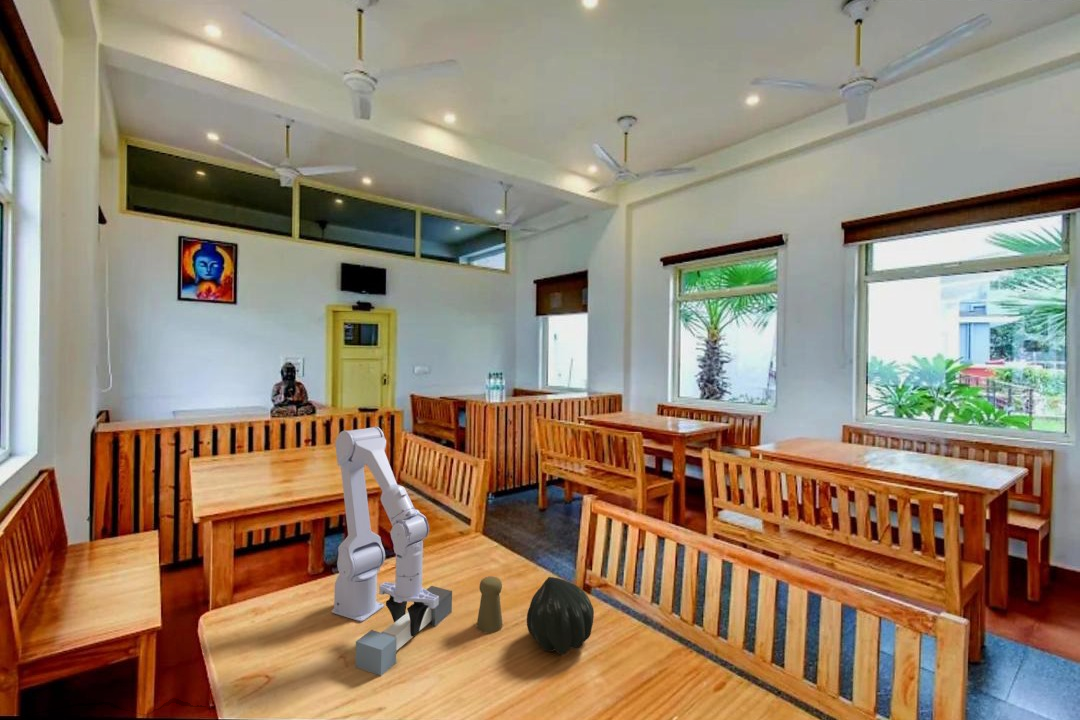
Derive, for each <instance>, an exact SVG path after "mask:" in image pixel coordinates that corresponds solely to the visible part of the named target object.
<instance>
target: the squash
mask: <svg viewBox="0 0 1080 720" xmlns="http://www.w3.org/2000/svg"><path fill="white" fill-rule="evenodd" d="M594 611H595V610H594V607H593V603H592V602H591V600H590V598H589V596H588V595H587V593H586V592H585V591H584V589H582V588H581V587H580V586H578V585H577V584H575V583H572V582H570V581H567V580H565V579H562V578H559V577H553V576H552V577H551V576H548V577H547V578H546V579H545V580H544V582H543V583H542V585H541V586H540V588H538V589H537V591H535V593H534V595H533V596H532V598H531V600H530V604H529V607H528V610H527V613H526V628H527V630H528V633H529V634H530V636H531V637H532V639H534V640H535V641H536V642H537V643H538V645H539V646H540V647H541V648H542V650H544V651H546V652H553V651H555V652H556V653H557V654H559V655H566V654H567V653H568V652H569V651H570V649H574V650H578V649H580V648H582V646H583V644H584V642H586V641H587V640H589V638H590V636H591V635H592V629H593V624H594V618H595V617H594V616H595V614H594V613H595V612H594Z"/></svg>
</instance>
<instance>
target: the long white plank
mask: <svg viewBox="0 0 1080 720" xmlns="http://www.w3.org/2000/svg"><path fill="white" fill-rule="evenodd" d="M431 621H432V608H430V606H428V608H427V610H426V612H425V614H424V616H423V619H422V622H421V626H420V630H419V632H420V631H421V630H422V629H424V628H425V627H426V626H428V625H427V624H428V623H429V622H431ZM380 633H384V634H387V635H390V636H393V637H396V638H397V639H396V652H398V650H399V649H401V648H402V647H403V646H404V645H405V644H406V643H408V642H409V641H410V640H411V639H412V638H413V636H411V633H410V616H409V613H408V611H406V613H405V615H403V616H402V617H401V618H400V619H398V620H397V621H396V622H394V621H393V623H392V624H391V625H389V626H388V627H387V628H386V629H384V630H383V631H381V632H380Z"/></svg>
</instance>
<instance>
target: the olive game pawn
mask: <svg viewBox="0 0 1080 720" xmlns="http://www.w3.org/2000/svg"><path fill="white" fill-rule="evenodd" d="M502 589H503V584H502V581H501V579H500V578H499V577H496V576H492V575H490V576H486V577H483V578H482V579H481V581H480V583H479V592H480V594H481V595H480V596H481V597H480V603H479V609H478V615H477V621H476V628H477V630H478V631H480V632H481V633H485V634H493V633H497V632H499V631H501V629H503V627H504V626H503V615H502V606H501V596H500V593H501V592H502Z"/></svg>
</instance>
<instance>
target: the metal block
mask: <svg viewBox="0 0 1080 720" xmlns="http://www.w3.org/2000/svg"><path fill="white" fill-rule="evenodd" d="M426 590H427V591H429V592H430V593H432V594H434V595H436V596H439V605H438V606H436V607H435V608H434V609H432V621H431V622H429V623H428V624H427V625H426V626H431V627H437V626H438V625H439V624H440V623H441V622H443V620H444V619H446V618H447V617H448V616H449V615H450V614H451V613H452V612H453V611H452V610H453V609H452V608H453V602H452V601H453V591H452V590H449V589H446V588H443V587H437V586H436V585H435V586H434V585H431V586H429V587H428V588H426Z"/></svg>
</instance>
